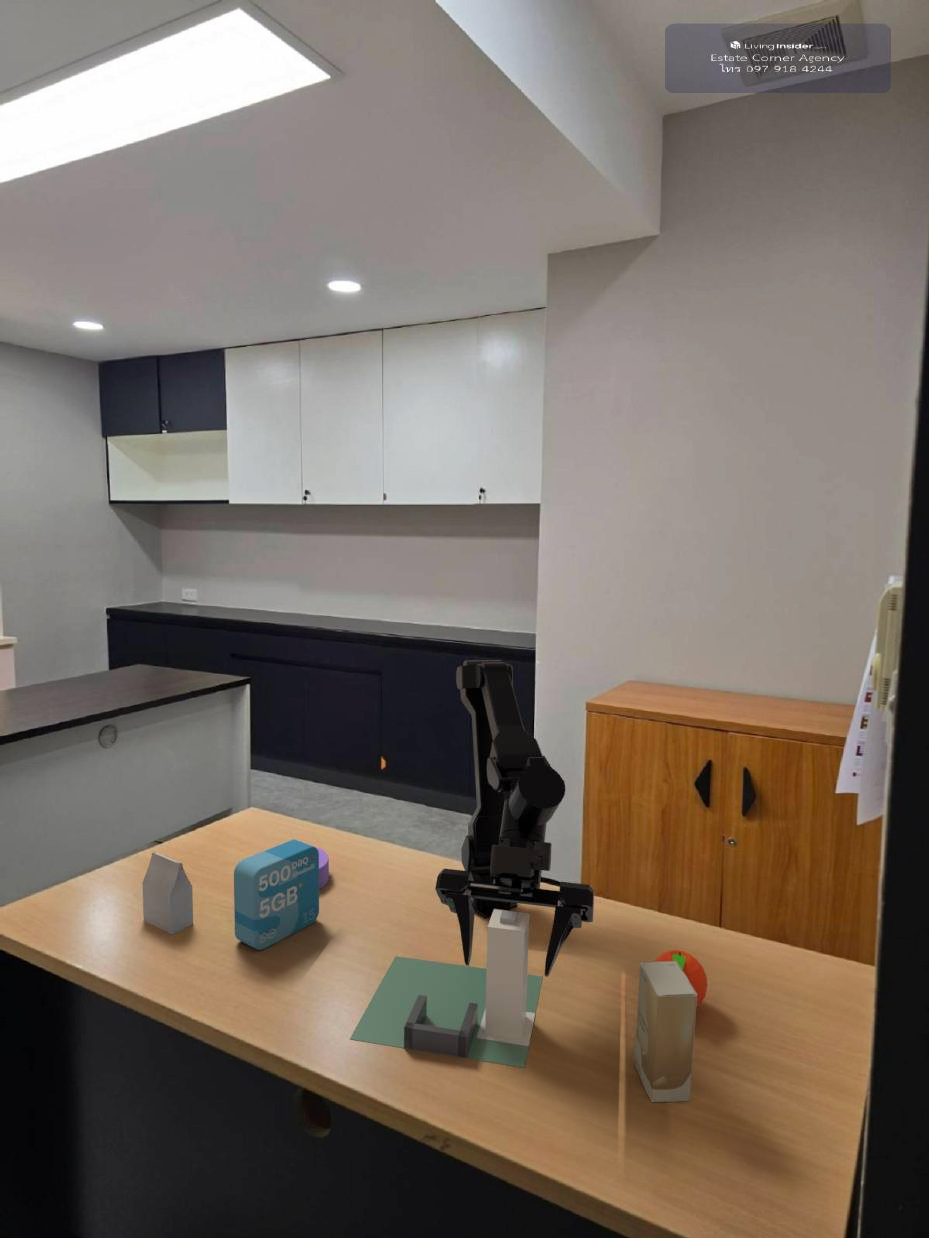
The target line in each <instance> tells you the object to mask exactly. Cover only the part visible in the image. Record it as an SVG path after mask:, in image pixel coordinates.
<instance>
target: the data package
mask: <svg viewBox="0 0 929 1238" xmlns="http://www.w3.org/2000/svg"><path fill="white" fill-rule="evenodd" d="M316 847H317V846H314V847H313V845H311V844H309V843H305V842H303V841H300V840H298V839H291V840H288V841H286V842H283V843H281V844H277V845H276V846H273V847H270V848H268V849H265V850H263V851H261V852H257V853H256V854H253V855H250V856H248V857H246V858H243V859H241V860H240V861H238V863H237V864H236V865H235V867H234V871H233V903H234V905H233V907H234V908H233V909H234V912H233V913H234V936H235V938H236V939H237V940H238V941H240V942H242V943H244V944H246V945H248V946H249V947H251V948H252V949H255V950H257V951H262V950H265V949H267V948H268V947H270V946H273V945H274V944H276V943H278V942H281V941H282V940H284V939H286V938H288V937H289V936H291V934H292V935H294V934H296V933H297V932H299V931H301V930H303V929H304V928H306V927H309V926H310V925H313V924H314V923H315V921H316V920H317V919H318V916H319V914H320V889H319V852H318V850H317V848H318V847H317V848H316Z"/></svg>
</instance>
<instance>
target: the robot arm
mask: <svg viewBox="0 0 929 1238" xmlns="http://www.w3.org/2000/svg"><path fill="white" fill-rule="evenodd" d="M513 668H514V667H513V664H510V663H506V662H503V661H502V659H478V660H477V659H470V660H469V659H467V660H464V661H463V665H461V666H457V668H456V674H455V679H456V687H457V689H458V690H459V691H460V700H461V702H462V704H463V705H464V707H465V708H466V709H467V711H468V713H469V714H470V716H471V723H472V724H471V725H472V743H473V744H472V745H473V760H474V776H475V795H476V809H475V811H474V813H473V814H472V816H471V819H470V820H469V822H468V826H467V833H468V834H467V835H465V838H464V841H463V843H462V846H461V848H460V853H461V864H462V866H463V870H462V869H461V870H460V869H453V868H452V869H451V868H443V869H442V870H441V871H440V872H439V873H438V874H437V878H436V883H435V892H436V895H437V896H438V898H439V900H440V902H441V904H443V905H446V906H447V907H448V909H449V911H450V912H451V913H454V914H456V916H457V917H456V918H457V921H458V924H459V928H460V929H459V931H460V937H461V939H460V940H461V944H462V955H463V961H464V966H470V964H471V960H472V959H471V958H472V951H473V939H474V925H475V913H478V914H479V915H481V916H483V917H484V918H491V916H492V913H493V910H494V909H499V910H507V911H511V910H512V909H514V908H517V907H518V904H522V905H527V906H528V905H529V906H530V905H531V906H536V907H537V906H539V907H547V908H554V915H553V923H552V927H551V932H550V937H549V942H548V946H547V947H548V948H547V952H546V958H545V966H544V976H545V977H549V976H550V974H551V972H552V970H553V967H554V965H555V963H556V960H557V958H558V956H559V953H560V951H561V949H562V948H563V945H564V944H565V942H566V941H567V939H568V937H569V936H570V934H571V932H572V931H573V929H581V928H582V925H583V923H593V922H594V908H595V907H594V905H595V898H594V897H595V895H594V894H595V892H594V889H593V888H592V886H591V885H590V884H587V883H586V884H585V883H576V882H569V881H560V885H559V890H554V889H553V890H552V889H544V888H541V882H542V881H541V879H542V873H543V871H545V872H549V871H551V865H552V864H551V862H552V842H545V839H546V832H547V823H548V822H549V821H550V820H551V819H552V817H553V816H554V814H555V812H556V810H557V809H558V807H559V805H560V804H561V803H562V801H563V799H564V798H565V795H566V794H565V793H566V784H565V780H564V779H563V778H562V775H560V774H559V772H557V770H555V769H554V768H553V767H552V766H551V764H550V763H549V761H548V759H547V757H546V756H545V755H543V753H542V751H541V748H540V745H539V743H538V740H537V739H536V737H534V736H533V735H531V734H529V733H528V732H527V731H526V729H525V726H524V723H523V719H522V716H521V711H520V709H519V705H518V701H517V697H516V694H515V690H514V673H513V672H514V671H513V670H514V669H513ZM505 793H510V796H508V797H507V798H506V794H505Z"/></svg>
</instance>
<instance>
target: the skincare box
mask: <svg viewBox="0 0 929 1238" xmlns="http://www.w3.org/2000/svg"><path fill="white" fill-rule="evenodd" d="M638 979H639V980H638V982H639V983H638V995H637V997H638V998H637V1010H636V1026H635V1028H636V1030H635V1043H634V1058H633V1061H634V1067H635V1068H636V1072H637V1073H638V1076H639V1078H640V1080H641V1083H642V1085H643V1088H644V1089H645V1091H646V1094H647V1096H648V1098H649V1101H650V1102H651V1103H666V1102H668V1103H669V1102H670V1103H671V1102H672V1103H673V1102H689V1101H690V1099H691V1090H692V1089H691V1088H692V1087H691V1086H692V1072H693V1061H694V1049H695V1048H694V1047H695V1046H694V1045H695V1035H696V1034H695V1031H696V1019H697V1007H698V1006H697V993H696V992H695V990H694V988H693V987H692V985H691V983H690V982H689V980H688V978H687V976H686V975H685V974H684V972H683V971H682V969H681V967H680V966H679V964H678V962H677V961H662V962H654V961H641V962H640V963H639V978H638Z"/></svg>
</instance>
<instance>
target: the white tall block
mask: <svg viewBox="0 0 929 1238" xmlns="http://www.w3.org/2000/svg"><path fill="white" fill-rule="evenodd" d="M529 928H530V913H529V912H523V911H521V912H520V911H514V910H499V909H494V910H493V913H492V916H491V917H490V920H489V923H488V924H487V931H486V933H487V935H486V936H487V938H486V969H487V974H486V1018H485V1034H492V1035H498V1036H504V1037H511V1038H517V1039H522V1034H523V1029H524V1025H525V1020H526V1007H527V974H528V972H529V971H528V968H529V966H528V964H529V963H528V962H529V934H530V933H529V932H530V929H529Z"/></svg>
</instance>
